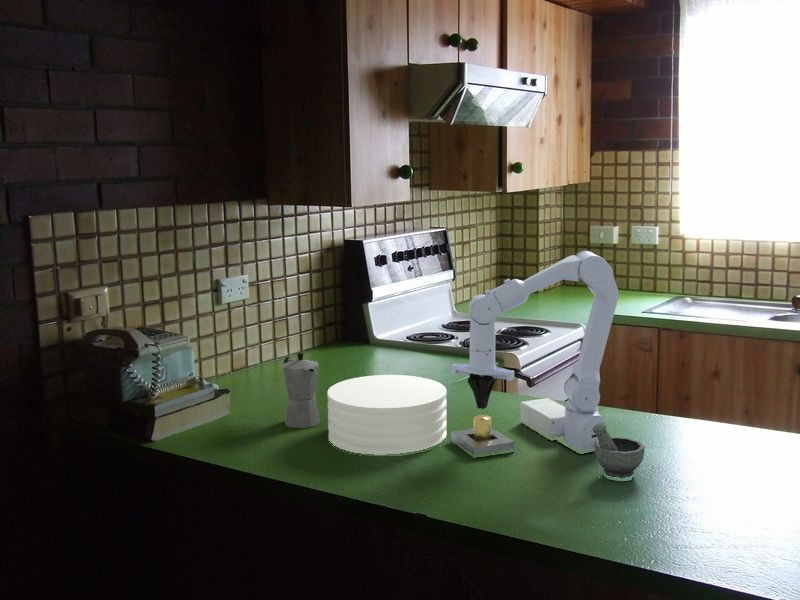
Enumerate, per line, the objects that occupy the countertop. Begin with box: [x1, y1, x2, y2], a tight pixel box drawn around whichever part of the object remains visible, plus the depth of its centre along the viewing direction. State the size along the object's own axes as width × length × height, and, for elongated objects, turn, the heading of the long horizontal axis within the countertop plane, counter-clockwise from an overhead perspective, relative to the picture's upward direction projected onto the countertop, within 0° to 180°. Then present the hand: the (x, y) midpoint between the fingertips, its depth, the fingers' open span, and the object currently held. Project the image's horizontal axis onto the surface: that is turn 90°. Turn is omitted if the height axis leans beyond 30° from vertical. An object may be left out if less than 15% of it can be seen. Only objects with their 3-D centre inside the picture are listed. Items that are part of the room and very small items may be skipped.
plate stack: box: [326, 374, 448, 455], centre depth 205 cm, size 28×28×12 cm
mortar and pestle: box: [592, 423, 645, 478], centre depth 178 cm, size 11×9×12 cm
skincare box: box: [519, 397, 565, 438], centre depth 208 cm, size 8×6×15 cm
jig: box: [450, 426, 515, 455], centre depth 197 cm, size 12×10×2 cm
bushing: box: [473, 414, 492, 442], centre depth 197 cm, size 4×4×7 cm
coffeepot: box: [282, 352, 321, 429], centre depth 216 cm, size 15×9×18 cm, turn 33°
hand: (482, 407), depth 196 cm, fingers closed
